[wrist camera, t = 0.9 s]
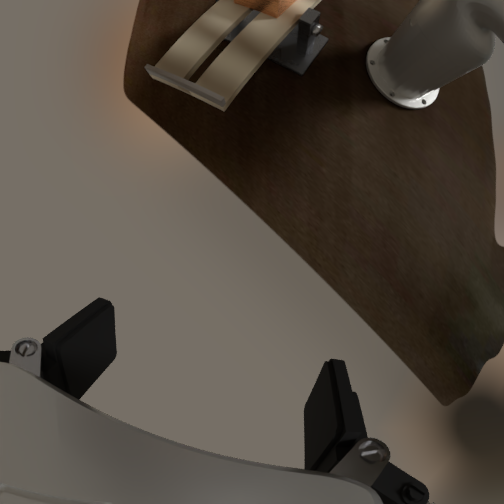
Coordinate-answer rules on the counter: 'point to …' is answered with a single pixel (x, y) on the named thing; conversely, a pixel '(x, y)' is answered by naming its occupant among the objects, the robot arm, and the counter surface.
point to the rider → (267, 6)
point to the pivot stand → (293, 41)
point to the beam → (225, 50)
